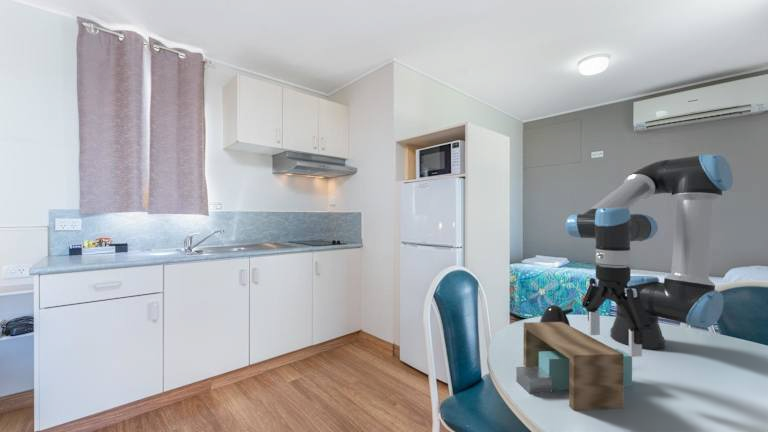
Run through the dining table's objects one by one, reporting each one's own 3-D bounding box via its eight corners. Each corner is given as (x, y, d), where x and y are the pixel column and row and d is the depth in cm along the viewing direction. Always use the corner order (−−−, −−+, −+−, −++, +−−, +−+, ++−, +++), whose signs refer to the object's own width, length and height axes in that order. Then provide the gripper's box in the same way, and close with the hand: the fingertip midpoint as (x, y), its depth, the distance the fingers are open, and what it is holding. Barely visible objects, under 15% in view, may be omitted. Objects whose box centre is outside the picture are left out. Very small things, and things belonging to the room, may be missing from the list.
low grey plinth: (537, 380, 84) (537, 365, 84) (551, 393, 79) (551, 377, 79) (516, 382, 84) (516, 367, 84) (529, 394, 78) (529, 378, 78)
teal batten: (617, 377, 86) (617, 348, 86) (631, 386, 82) (632, 356, 82) (538, 381, 84) (538, 351, 84) (548, 390, 80) (549, 359, 80)
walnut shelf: (561, 363, 94) (562, 321, 94) (623, 408, 72) (623, 354, 72) (523, 364, 93) (523, 322, 93) (573, 410, 71) (574, 355, 71)
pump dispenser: (578, 360, 96) (579, 311, 96) (542, 357, 98) (542, 308, 98) (566, 346, 106) (567, 302, 106) (533, 344, 108) (534, 300, 108)
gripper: (568, 258, 96) (569, 327, 96) (641, 274, 71) (641, 368, 71) (591, 258, 96) (592, 326, 97) (671, 273, 71) (672, 366, 72)
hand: (613, 344), depth 84 cm, fingers open, 13 cm apart
